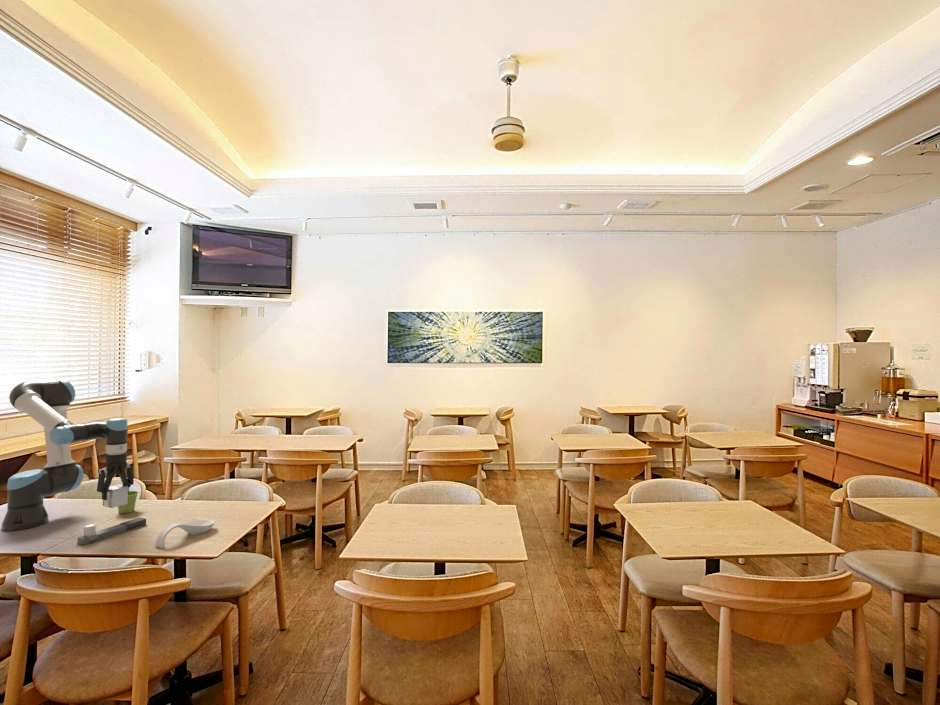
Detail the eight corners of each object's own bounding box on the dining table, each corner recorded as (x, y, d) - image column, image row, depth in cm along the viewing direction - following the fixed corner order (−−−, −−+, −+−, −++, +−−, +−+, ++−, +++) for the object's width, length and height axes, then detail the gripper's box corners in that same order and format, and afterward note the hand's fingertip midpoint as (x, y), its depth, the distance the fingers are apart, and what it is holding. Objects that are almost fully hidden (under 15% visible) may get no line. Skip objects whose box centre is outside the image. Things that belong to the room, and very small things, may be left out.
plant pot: (143, 509, 227) (143, 491, 227) (124, 515, 218) (124, 497, 218) (128, 507, 229) (128, 490, 229) (109, 513, 220) (109, 495, 220)
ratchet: (85, 545, 184) (85, 529, 184) (77, 543, 186) (77, 527, 186) (146, 524, 206) (146, 510, 206) (138, 523, 208) (138, 508, 208)
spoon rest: (200, 525, 206) (200, 509, 206) (220, 528, 202) (220, 512, 202) (148, 546, 184) (148, 528, 184) (170, 550, 180) (170, 532, 180)
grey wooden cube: (102, 505, 205) (103, 488, 205) (118, 501, 211) (118, 484, 211) (112, 508, 202) (112, 490, 202) (127, 503, 208) (128, 486, 208)
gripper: (97, 458, 196) (96, 512, 196) (144, 449, 214) (143, 498, 214) (86, 456, 199) (85, 509, 199) (133, 448, 217) (132, 496, 217)
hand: (115, 504), depth 206 cm, fingers closed on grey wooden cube, 6 cm apart
